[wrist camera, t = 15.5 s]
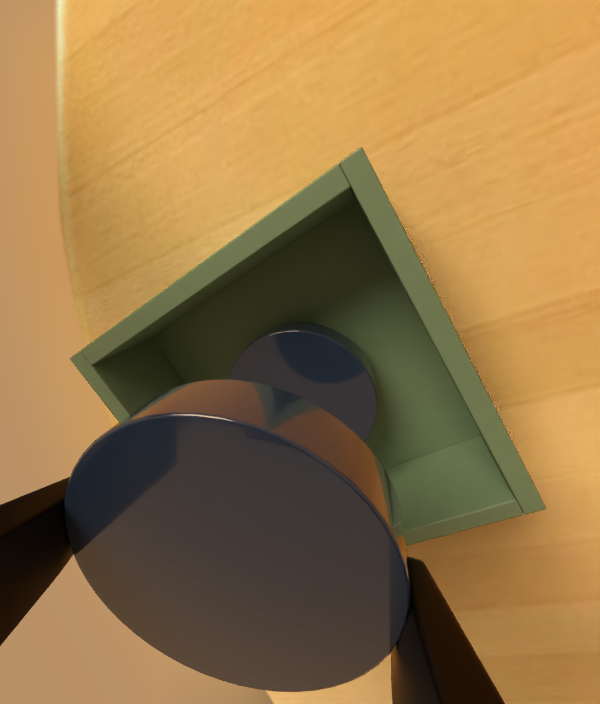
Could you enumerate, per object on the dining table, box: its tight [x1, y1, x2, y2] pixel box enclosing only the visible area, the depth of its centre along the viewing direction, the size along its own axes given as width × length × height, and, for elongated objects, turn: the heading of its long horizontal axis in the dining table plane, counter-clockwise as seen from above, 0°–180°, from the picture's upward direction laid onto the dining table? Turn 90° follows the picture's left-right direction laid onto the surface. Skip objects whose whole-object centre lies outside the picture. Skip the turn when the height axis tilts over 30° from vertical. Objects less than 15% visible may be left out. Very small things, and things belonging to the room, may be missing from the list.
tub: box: [70, 147, 546, 546], centre depth 16 cm, size 15×15×5 cm
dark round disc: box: [229, 322, 378, 443], centre depth 17 cm, size 7×7×2 cm
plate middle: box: [64, 379, 410, 692], centre depth 8 cm, size 7×7×2 cm
